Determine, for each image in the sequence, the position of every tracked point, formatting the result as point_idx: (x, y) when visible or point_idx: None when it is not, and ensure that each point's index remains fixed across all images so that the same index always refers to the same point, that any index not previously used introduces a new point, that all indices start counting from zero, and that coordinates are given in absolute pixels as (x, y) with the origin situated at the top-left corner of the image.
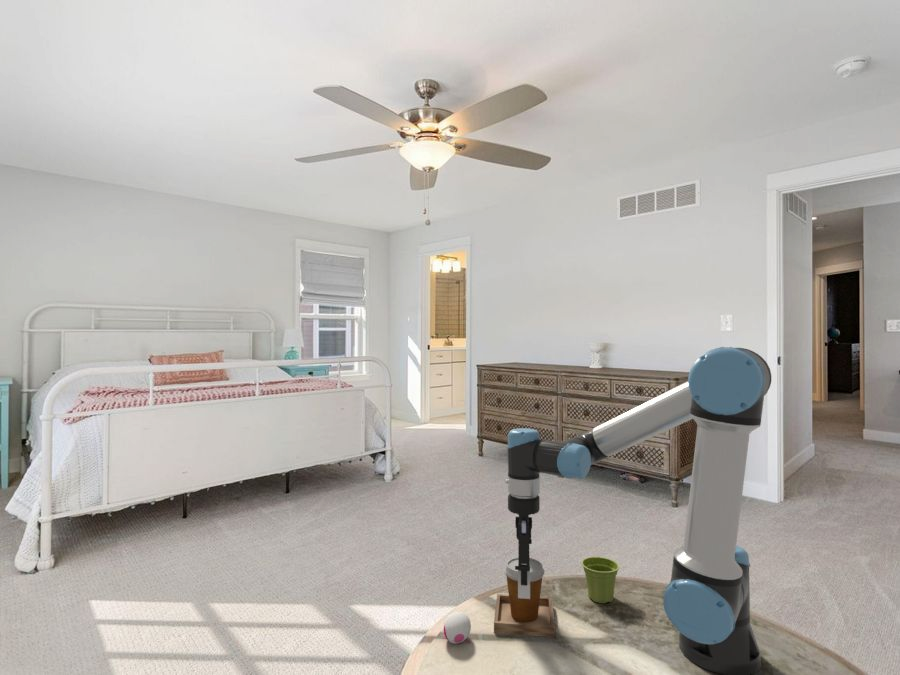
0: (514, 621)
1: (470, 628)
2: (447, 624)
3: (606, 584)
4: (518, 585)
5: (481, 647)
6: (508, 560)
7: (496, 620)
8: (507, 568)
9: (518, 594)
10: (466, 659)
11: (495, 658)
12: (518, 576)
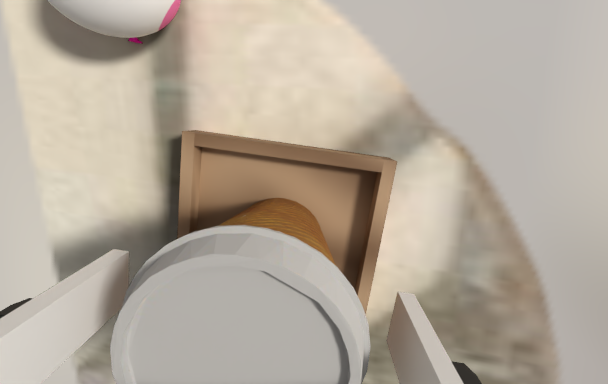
0: (240, 203)
1: (105, 34)
2: None
3: None
4: (64, 281)
5: (111, 83)
6: (301, 279)
7: (197, 141)
8: (190, 253)
9: (102, 258)
10: (44, 31)
11: (65, 124)
12: (17, 312)
